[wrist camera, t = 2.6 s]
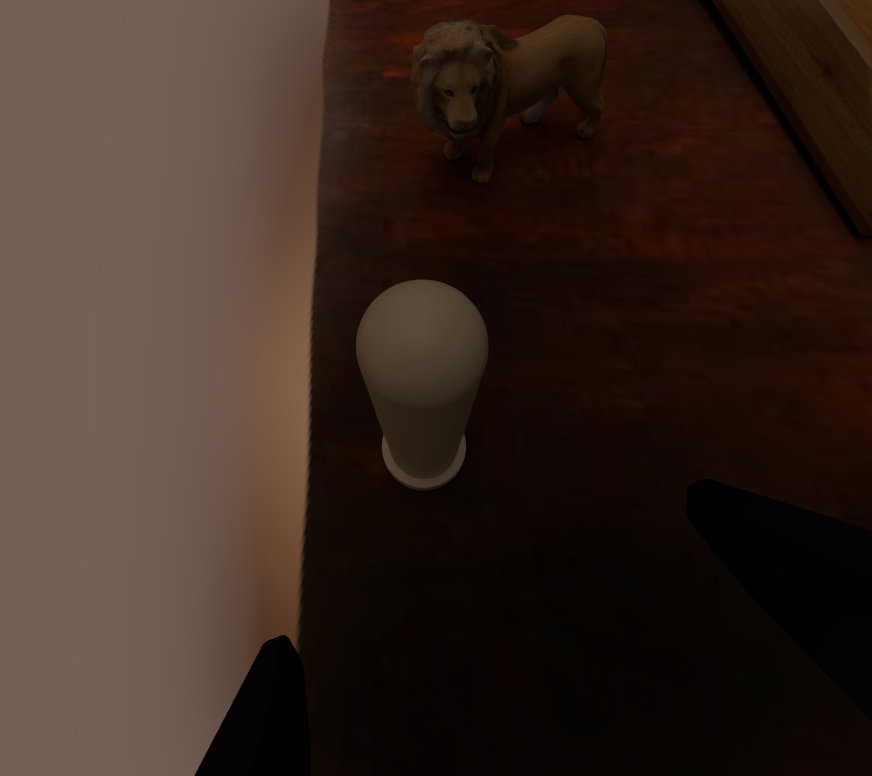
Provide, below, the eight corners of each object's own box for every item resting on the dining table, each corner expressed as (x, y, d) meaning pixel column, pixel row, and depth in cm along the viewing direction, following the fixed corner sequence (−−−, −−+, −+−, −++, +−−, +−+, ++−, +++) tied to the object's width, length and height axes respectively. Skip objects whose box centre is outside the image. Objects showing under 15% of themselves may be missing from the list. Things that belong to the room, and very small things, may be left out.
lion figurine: (445, 229, 27) (455, 79, 18) (394, 173, 28) (380, 10, 19) (617, 124, 30) (693, -44, 21) (564, 79, 31) (615, -95, 23)
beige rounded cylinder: (458, 497, 21) (506, 419, 9) (376, 483, 21) (304, 386, 9) (469, 418, 22) (524, 250, 10) (392, 405, 23) (350, 224, 10)
